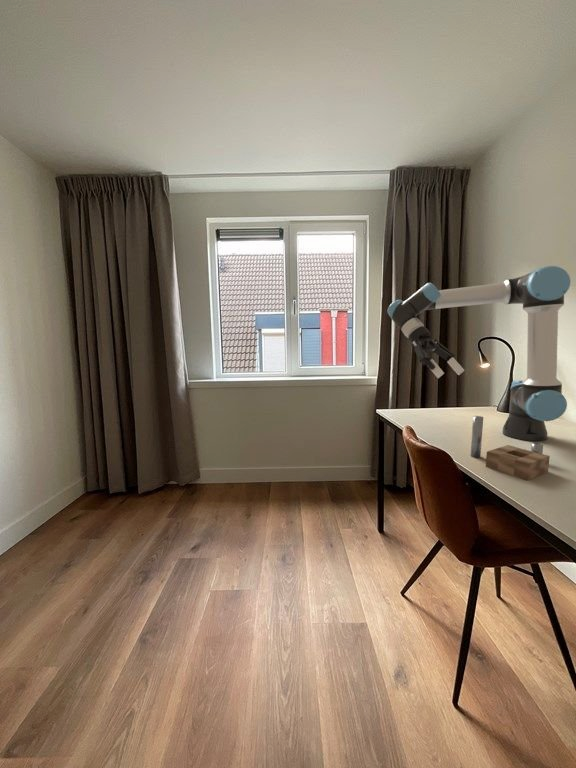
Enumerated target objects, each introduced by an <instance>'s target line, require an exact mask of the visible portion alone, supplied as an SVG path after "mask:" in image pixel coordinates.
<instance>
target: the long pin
mask: <svg viewBox="0 0 576 768" xmlns="http://www.w3.org/2000/svg"><path fill="white" fill-rule="evenodd" d="M483 427H484V416H481V415H473V416H472V430H471V442H470V444H471V446H470V457H472V458H477V459H480V458H481V457H482V456H481V455H482V441H483Z"/></svg>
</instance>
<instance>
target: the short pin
mask: <svg viewBox="0 0 576 768" xmlns="http://www.w3.org/2000/svg"><path fill="white" fill-rule="evenodd" d="M530 448H531V450H530V451H532V452H536V453H540V454H543V452H544V444H543V443H540V442H531V447H530Z"/></svg>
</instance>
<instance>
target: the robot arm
mask: <svg viewBox="0 0 576 768" xmlns="http://www.w3.org/2000/svg"><path fill="white" fill-rule="evenodd" d="M570 287H571V277H570V274H569V273H568V272H567V271H566V270H565V269H564V268H562V267H560V266H556V265H547V266H543V267H539V268H537V269H535V270H533V271H531V272H529V273H527V274H524V275H522V276H519V277H515V278H509V279H508V278H507V279H505V280H504V281H503V282H498V283H488V284H483V285H482V284H481V285H472V286H465V287H457V288H447V289H440V290H439V289H438V288H437V287H436V286H435V284H434V283H432V282H427V283H426V284H425V285H423V286H422V287H420V289H418V290H417V291H415V292H414V293H413V294H412V295H411V296H409V298H407V299H406V300H402V299H396V300H395V301H393V302H391V303H390V305H389V306H388V308H387V311H386V312H387V314H388V315H389V317H390V319H391V320H392V322H394V323H395V325H396V327H398V328H399V330H400V331H401V332H402V333H403V334H404V336H405V337H406V338H407V339H408V341H410V343H411V346H412V347H413V349H414V351H415V354H416V357H417V359H418V362H419V363H421V364H422V366H427V367H428V368H429V370H430V371H431V372H432V373H433V374H434V376H435V377H436V378H437V379H440V378H441V377H442V376H443V375H444V374H445V372H444V371H443V369H442V368H440V366H439V365H438V364H437V363H436V361H435V360H434V359H431V353H432V354H435V355H437V356H439V357H440V358H442V359H443V360H446V362H447V364H448V365H449V367H450V368H451V369H452V370H453V371H454V372H455V373H456V374H457V375H458V376H460V375H461V374H462V373H464V372H465V369H464V368H463V366H462V365H461V364H460V363H459V362H458V361H457V360H456V359H455V356H456V354H455V353H453V352H452V351H451V350H449V348H447V347H446V346H444V345H443V344H441V343H440V342H439V340H438V339H437V338H434V339H433V340H432V338H431V337H430V336H431V331H430V330H428V328H427V327H426V326H425V325H424V323H422V321H421V320H420V319H419V318H418V317H417V316H418V315H420V314H421V313H422V312H424V311H430V310H438V309H439V310H440V309H447V308H448V309H450V308H458V307H467V306H469V307H470V306H476V305H477V306H478V305H485V304H486V305H487V304H498V303H503V304H505V305H514V304H515V305H517V304H518V305H519V304H520V305H521V304H522V310H524V311H525V312H526V314H527V349H526V351H527V352H526V353H527V358H526V359H527V361H526V362H527V363H526V364H527V365H526V378H525V379H524V380H513V381H512V382H511V386H510V397H509V408H508V409H509V410H508V416H507V419H506V421H505V423H504V425H503V427H502V434H503V435H504V436H506V437H509V438H512V439H517V440H521V441H522V440H523V441H531V442H540V441H541V442H543V441H547V439H548V436H549V435H548V433H549V432H548V429H547V426H546V423H545V422H551V421H552V422H553V421H555V420H557V419H559V418H560V417H562V416H563V415H564V413H565V412H566V410H567V407H568V401H567V399H566V397H565V396H564V394H563V391H562V390H563V389H562V388H563V387H562V385H563V382H561V381H560V380H559V379H558V378H557V376H558V373H557V372H558V371H557V370H558V366H557V365H558V336H559V335H558V329H559V326H558V325H559V310H560V309H562V307H563V306H564V305H565V295H566V294H567V292H568V291H569V289H570ZM430 352H431V353H430Z"/></svg>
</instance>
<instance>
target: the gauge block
mask: <svg viewBox="0 0 576 768" xmlns="http://www.w3.org/2000/svg"><path fill="white" fill-rule="evenodd" d="M485 457H486V458H485V468H489V469H491V470H495V471H498V472H501V473H504V474H507V475H510V476H512V477H516V478H518V479H519V478H520V479H522V480H525V481H530V480H532V479H534V478H536V477H539V476H541V475H544V474H545V473H548V472H549V466H550V465H549V464H550V455H547V454H540V453H536V452H532V451H531V450H528V449H524V448H521V447H516V446H512V445H509V444H505V445H503V446H500V447H498V448H494V449H490V450H488V451H486V456H485Z"/></svg>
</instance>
